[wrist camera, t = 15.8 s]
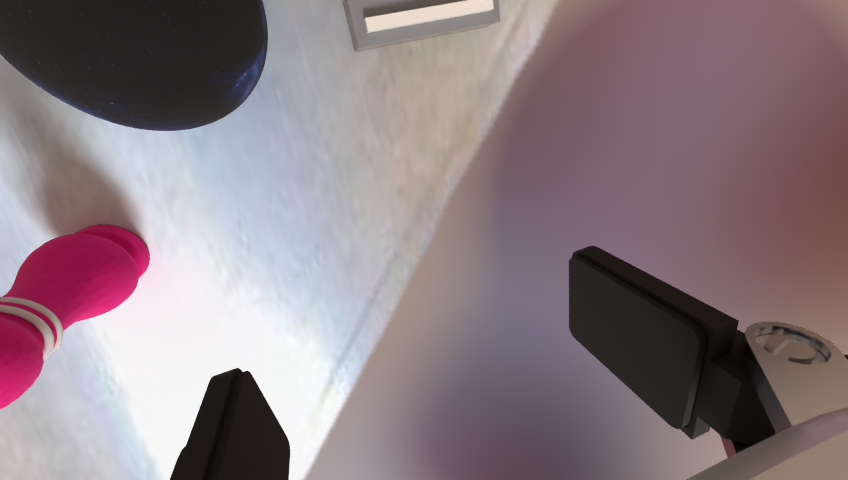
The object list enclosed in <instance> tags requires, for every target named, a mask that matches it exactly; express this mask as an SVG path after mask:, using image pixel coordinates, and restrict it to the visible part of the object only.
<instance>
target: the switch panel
mask: <svg viewBox="0 0 848 480" xmlns="http://www.w3.org/2000/svg"><path fill="white" fill-rule="evenodd" d="M343 4H344V9H345V13H346V17H347V21H348V25H349V29H350V33H351V37H352V41H353V45H354V49H355V52H358V51H363V50H368V49H373V48H379V47H384V46H389V45H394V44H400V43H405V42H410V41H415V40H421V39H426V38H431V37H436V36H442V35H447V34H452V33H458V32H463V31H468V30H473V29H479V28H484V27H487V26H490V25H492V24H495V23H497V22H500V13H499V1H498V0H343Z"/></svg>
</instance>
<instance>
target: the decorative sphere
mask: <svg viewBox="0 0 848 480" xmlns="http://www.w3.org/2000/svg"><path fill="white" fill-rule="evenodd" d="M267 43H268V31H267V21H266V15H265V10H264V5H263V2H262V0H0V54H1V55H2V56H3V57H4V58H5V59H6V60H7V61H8V62H9V63H10V64H11V65H13V66H14V67H15V68H16V69H17V70H18V71H20V72H21V73H22V74H23V75H24V76H26V77H27V78H28V79H30V80H31V81H32V82H34V83H35V84H36V85H38V86H39V87H41V88H42V89H44V90H45V91H47V92H48V93H50V94H51V95H53V96H54V97H56V98H58V99H60V100H61V101H63V102H65V103H67V104H69V105H71V106H73V107H75V108H77V109H79V110H81V111H83V112H86V113H88V114H90V115H92V116H95V117H98V118H101V119H104V120H107V121H110V122H113V123H116V124H120V125H124V126H128V127H133V128H138V129H146V130H156V131H177V130H185V129H192V128H196V127H200V126H204V125H207V124H210V123H212V122H215V121H217V120H219V119H221V118H223V117H225V116H226V115H228V114H230V113H231V112H233V111H234V110H235V109H236V108H238V107H239V106H240V105H241V104H242V103H243V102H244V101H245V100H246V99H247V97H248V96H249V95H250V94H251V92H252V91H253V89H254V88H255V86H256V84H257V82H258V80H259V78H260V76H261V73H262V71H263V67H264V64H265V59H266V53H267Z"/></svg>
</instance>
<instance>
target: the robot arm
mask: <svg viewBox="0 0 848 480" xmlns="http://www.w3.org/2000/svg"><path fill="white" fill-rule="evenodd" d="M738 322H739V321H738V320H736V319H734V318H732V317H730V316H728V315H726V314H725V313H723V312H721V311H718V310H717V309H715V308H713V307H711V306H709V305H707V304H705V303H703V302H702V301H699V300H698V299H696V298H694V297H692V296H690V295H688V294H686V293H684V292H682V291H680V290H678V289H677V288H675V287H673V286H671V285H669V284H667V283H665V282H663V281H661V280H659V279H657V278H656V277H654V276H652V275H650V274H648V273H646V272H644V271H642V270H640V269H638V268H636V267H634V266H632V265H631V264H629V263H627V262H624V261H623V260H621V259H619V258H617V257H615V256H613V255H611V254H610V253H608V252H606V251H604V250H602V249H600V248H598V247H595V246H589V247H586V248H584V249H581V250H578V251H576V252H574V253H573V255H572V258H571V259H570V260H569V328H570V331H571V333H572V335H573V337H574V338H575V339H576V340H577V341H578V342H580V343H581V344H582V345H583V346H584V347H585V348H586V349H587V350H588V351H589V352H590V353H591V354H593V355H594V356H595V357H596V358H597V359H598V360H599V361H600V362H601V363H602V364H603V365H605V366H606V367H607V368H608V369H609V370H610V371H611V372H612V373H613V374H614V375H615V376H617V377H618V378H619V379H620V380H621V381H622V382H623V383H624V384H625V385H627V386H628V387H629V388H630V389H631V390H632V391H633V392H634V393H635V394H636V395H637V396H638V397H640V398H641V399H642V400H643V401H644V402H645V403H646V404H647V405H648V406H649V407H650V408H652V409H653V410H654V411H655V412H656V413H657V414H658V415H659V416H660V417H661V418H663V419H664V420H665V421H666V422H667V423H668V424H669V425H671V426H672V427H674V428H676V429H681V430H682V431H683V432H684V433H685V434H686V435H687V436H688V437H690V438H691V439H694V438H696V437H698V436H700V435H702V434H704V433H706V432H708V431H709V430H710V427H712V428H713V429H714V430H715V431H716V432H717V433H719V434H720V437H721V439H722V443H723V445H724V449H725V452H726V454H727V459H725V460H723V461H721V462H719V463H718V464H715V465H713V466H712V467H710V468H708V469H706V470H704V471H702V472H700V473H698V474H696V475H694V476H692V477H690V478H689V479H687V480H848V355H843V353H841V351H840V350H839V349H838V348H837V347H836V346H835V345H834V344H833V343H832V342H831V341H829V340H827V339H826V338H824V337H822V336H820V335H819V334H817V333H815V332H812V331H810V330H807V329H805V328H802V327H799V326H795V325H792V324H787V323H781V322H759V323H754V324H752V325H750V326H749V327H747V329H746V331H745V334H744V333H743V332H741V331H739V330H737V326H738ZM289 462H290V446H289V441H288V438H287V436H286V435H285V433H284V431H283V429H282V427H281V426H280V424H279V422H278V420H277V419H276V417H275V415H274V413H273V412H272V410H271V408H270V406H269V405H268V403H267V401H266V399H265V397H264V396H263V394H262V392H261V390H260V389H259V387H258V385H257V383H256V382H255V380H254V378H253V376H252V375H251V373H250V372H249V371H245V372H242V371H241V370H240V369H239V368H236V369H233V370H230V371H227V372H224V373H221V374H219V375H216V376H213V377H212V378H211V380H210V382H209V384H208V387H207V390H206V393H205V395H204V398H203V401H202V404H201V406H200V409H199V412H198V415H197V417H196V420H195V423H194V426H193V428H192V431H191V434H190V437H189V439H188V442H187V445H186V446H185V447H184V448H183V449H182V451H181V453H180V455H179V457H178V459H177V462H176V465H175V467H174V470H173V473H172V475H171V478H170V480H288V477H289Z"/></svg>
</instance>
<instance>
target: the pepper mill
mask: <svg viewBox="0 0 848 480" xmlns="http://www.w3.org/2000/svg"><path fill="white" fill-rule="evenodd" d="M149 260H150V257H149V252H148V249H147V247H146V246H145V244H144V243H143V242H142V240H141V239H140V238H139V237H137V236H136V235H135V234H133V233H132V232H130V231H128V230H126V229H123V228H121V227H117V226H111V225H95V226H90V227H87V228H85V229H83V230H81V231H79V232H77V233H75V234H70V235H65V236H61V237H58V238H55V239H52V240H50V241H48V242H46V243H44V244H43V245H42V246H40V247H39V248H38V249H36V250H35V251H33V252H32V253H31V254H30V255H29V256H28V257H27V259H26V260H25V261H24V263H23V264H22V265H21V267H20V269H19V271H18V274H17V276H16V279H15V281H14V284H13V286H12V288H11V289H10V291H9V292H8V293H7V294H6V295H4V296H3V297H0V409H2V408H4V407H6V406H7V405H9V404H10V403H12V402H13V401H15V400H16V399H18V398H19V397H20V396H21V395H22V394H23V393H24V392H25V391H26V390H27V389H28V388H29V387H30V386H31V385H32V384H33V383H34V382H35V380H36V379H37V377H38V376H39V375H40V372H41V370H42V366H43V363H44V360H45V359H46V358H47V357H48V356H49V355H50V354H51V353H52V352H53V351H55V350H56V349H57V348H58V346H59V345H60V343H61V341H62V339H63V331H64V330H65V329H66V328H68V327H69V326H70V325H71V324H73V323H75V322H77V321H80V320H85V319H89V318H92V317H95V316H98V315H101V314H103V313H106V312H108V311H110V310H112V309H114V308H116V307H117V306H119V305H120V304H121V303H123V302H124V301H125V300H126V299H127V298H128V297H129V296H130V295H131V294H132V293H133V291H134V290H135V288H136V286H137V283H138V279H139V278H140V276H141V275H142V274H143V273H144V272H145V271H146V270H147V267H148V265H149Z"/></svg>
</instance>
